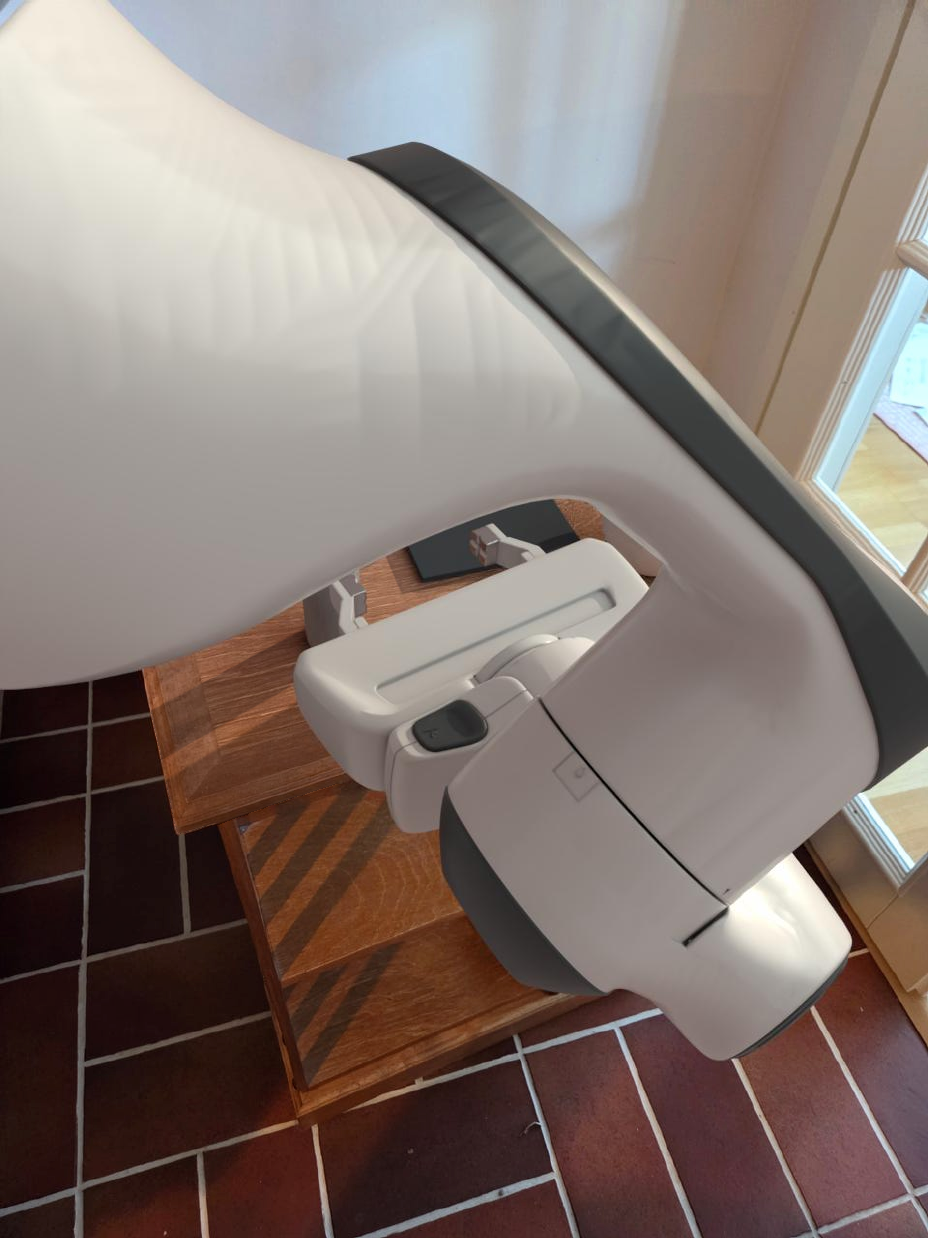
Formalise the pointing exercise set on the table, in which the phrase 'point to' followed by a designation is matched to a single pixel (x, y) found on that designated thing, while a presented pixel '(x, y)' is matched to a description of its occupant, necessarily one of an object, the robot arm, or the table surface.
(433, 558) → the slate mat
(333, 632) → the planter
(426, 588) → the table surface
